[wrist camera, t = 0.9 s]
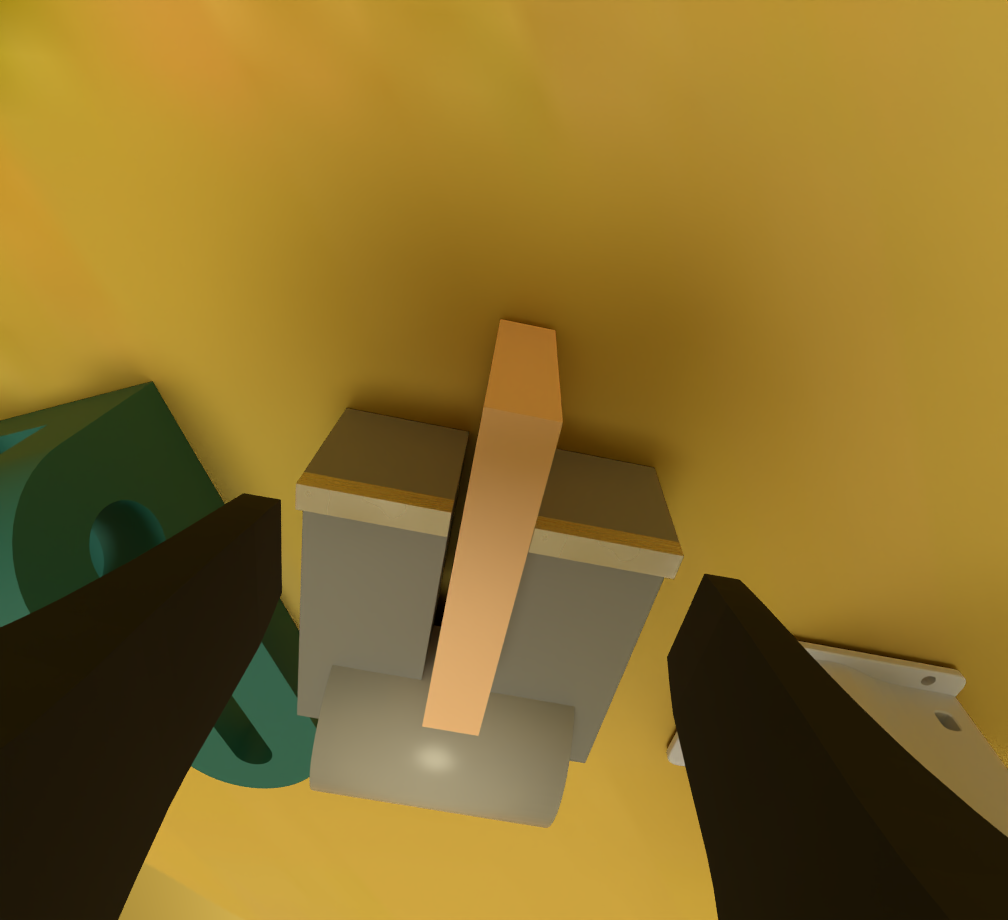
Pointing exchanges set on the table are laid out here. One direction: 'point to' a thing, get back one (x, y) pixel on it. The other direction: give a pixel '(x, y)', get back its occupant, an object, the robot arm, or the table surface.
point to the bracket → (137, 552)
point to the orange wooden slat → (496, 522)
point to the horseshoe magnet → (414, 638)
